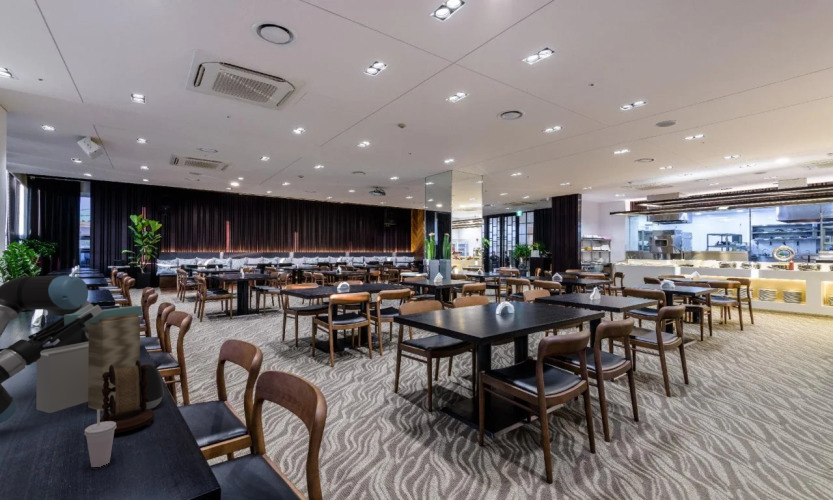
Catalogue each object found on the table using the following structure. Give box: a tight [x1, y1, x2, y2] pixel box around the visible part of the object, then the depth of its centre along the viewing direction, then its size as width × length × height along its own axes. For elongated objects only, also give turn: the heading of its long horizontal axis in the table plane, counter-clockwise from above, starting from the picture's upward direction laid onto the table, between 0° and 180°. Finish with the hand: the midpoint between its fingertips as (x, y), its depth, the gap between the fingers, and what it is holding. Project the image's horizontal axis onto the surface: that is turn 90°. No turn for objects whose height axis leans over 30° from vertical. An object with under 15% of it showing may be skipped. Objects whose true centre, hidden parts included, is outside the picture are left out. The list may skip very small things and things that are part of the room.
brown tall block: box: [87, 314, 141, 412], centre depth 138 cm, size 12×8×31 cm, turn 157°
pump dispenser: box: [139, 361, 165, 410], centre depth 134 cm, size 10×10×15 cm
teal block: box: [63, 305, 143, 326], centre depth 135 cm, size 22×4×4 cm, turn 157°
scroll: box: [94, 360, 155, 434], centre depth 120 cm, size 15×15×20 cm
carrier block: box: [35, 342, 89, 414], centre depth 137 cm, size 16×8×20 cm, turn 157°
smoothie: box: [84, 409, 116, 468], centre depth 99 cm, size 6×6×14 cm
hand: (96, 307), depth 132 cm, fingers closed on teal block, 3 cm apart
